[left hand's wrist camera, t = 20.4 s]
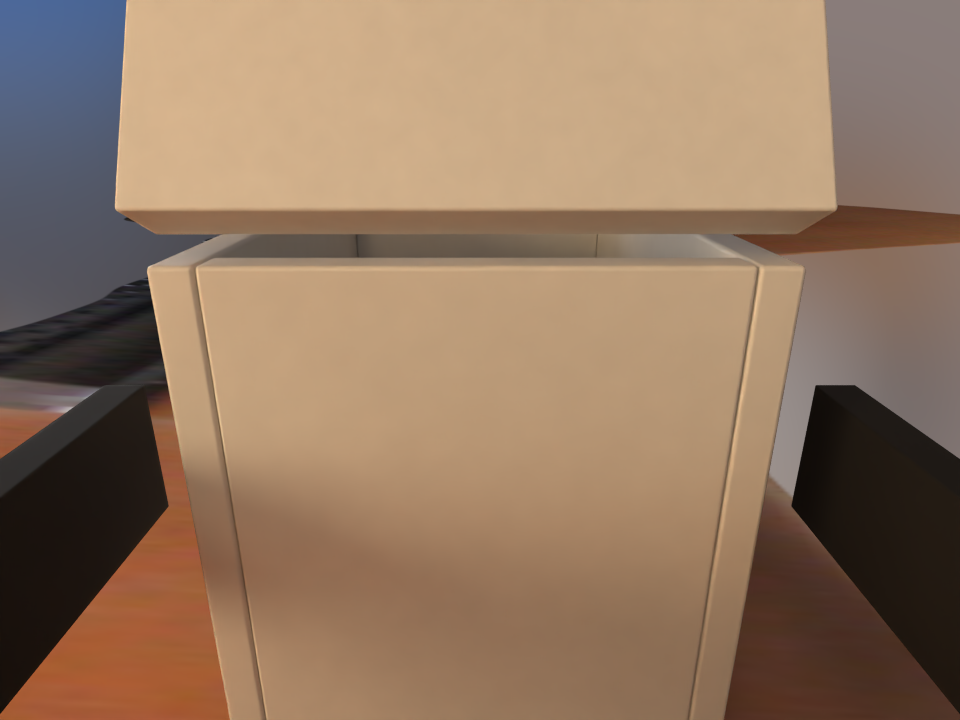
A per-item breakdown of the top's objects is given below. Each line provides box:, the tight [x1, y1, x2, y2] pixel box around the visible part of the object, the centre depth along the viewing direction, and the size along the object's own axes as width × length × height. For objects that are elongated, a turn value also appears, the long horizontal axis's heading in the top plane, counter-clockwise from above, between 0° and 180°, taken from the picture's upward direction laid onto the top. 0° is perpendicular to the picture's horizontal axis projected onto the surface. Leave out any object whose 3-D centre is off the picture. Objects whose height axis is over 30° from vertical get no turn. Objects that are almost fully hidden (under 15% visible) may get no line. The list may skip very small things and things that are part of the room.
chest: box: [147, 234, 806, 720], centre depth 17 cm, size 13×10×11 cm
